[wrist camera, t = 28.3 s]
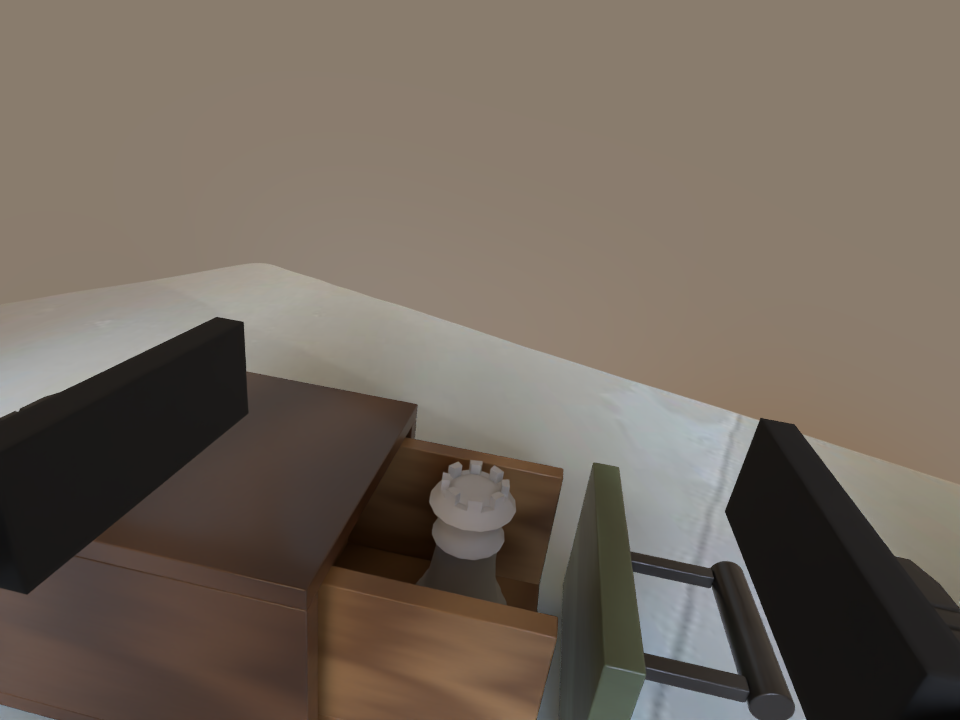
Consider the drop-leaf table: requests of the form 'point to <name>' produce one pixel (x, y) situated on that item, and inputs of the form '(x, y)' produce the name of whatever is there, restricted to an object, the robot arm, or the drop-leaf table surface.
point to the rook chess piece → (469, 531)
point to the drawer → (513, 611)
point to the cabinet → (209, 572)
